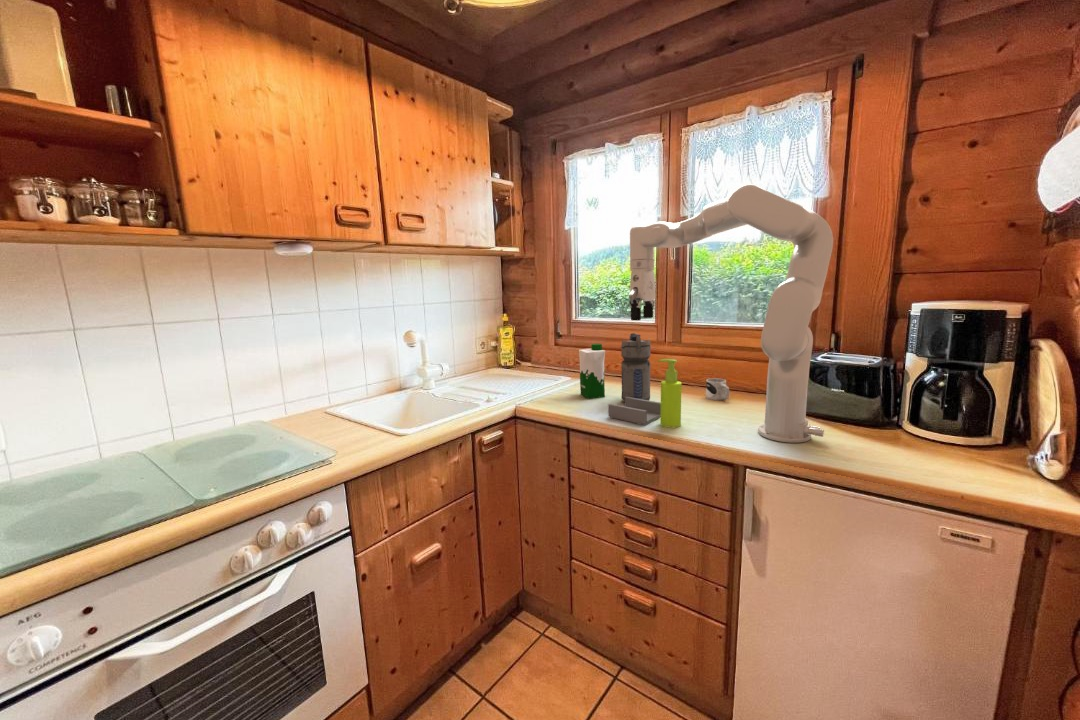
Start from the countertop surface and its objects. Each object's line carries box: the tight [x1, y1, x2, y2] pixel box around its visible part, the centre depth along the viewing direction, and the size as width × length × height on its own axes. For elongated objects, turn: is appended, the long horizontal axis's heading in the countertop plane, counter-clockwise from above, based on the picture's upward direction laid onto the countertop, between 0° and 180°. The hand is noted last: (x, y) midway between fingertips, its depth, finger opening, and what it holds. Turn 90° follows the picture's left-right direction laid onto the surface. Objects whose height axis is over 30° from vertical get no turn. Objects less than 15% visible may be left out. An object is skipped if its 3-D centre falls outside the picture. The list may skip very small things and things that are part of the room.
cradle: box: [607, 397, 661, 426], centre depth 137 cm, size 13×11×4 cm
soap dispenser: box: [657, 358, 683, 428], centre depth 128 cm, size 6×7×20 cm
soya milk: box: [578, 343, 606, 400], centre depth 163 cm, size 9×9×20 cm
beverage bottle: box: [620, 332, 651, 403], centre depth 153 cm, size 10×13×25 cm
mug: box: [705, 377, 730, 401], centre depth 153 cm, size 10×7×7 cm
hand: (642, 318), depth 140 cm, fingers open, 9 cm apart
